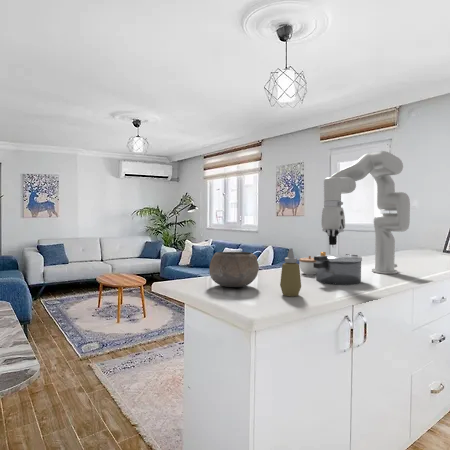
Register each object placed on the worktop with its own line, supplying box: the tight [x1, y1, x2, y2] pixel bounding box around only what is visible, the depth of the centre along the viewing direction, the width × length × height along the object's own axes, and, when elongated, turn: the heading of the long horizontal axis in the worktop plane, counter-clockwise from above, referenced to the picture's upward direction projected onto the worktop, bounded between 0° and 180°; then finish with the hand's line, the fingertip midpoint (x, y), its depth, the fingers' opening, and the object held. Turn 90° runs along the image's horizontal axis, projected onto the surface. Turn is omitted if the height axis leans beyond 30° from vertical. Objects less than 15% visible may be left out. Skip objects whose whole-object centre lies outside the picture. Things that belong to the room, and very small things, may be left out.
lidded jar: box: [298, 255, 316, 276], centre depth 187 cm, size 11×11×9 cm
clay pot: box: [208, 251, 260, 288], centre depth 153 cm, size 21×21×15 cm
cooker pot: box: [314, 261, 362, 286], centre depth 166 cm, size 26×20×10 cm
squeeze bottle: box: [279, 248, 302, 297], centre depth 138 cm, size 8×8×18 cm
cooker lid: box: [313, 251, 363, 263], centre depth 166 cm, size 27×21×3 cm
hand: (332, 244), depth 165 cm, fingers closed
